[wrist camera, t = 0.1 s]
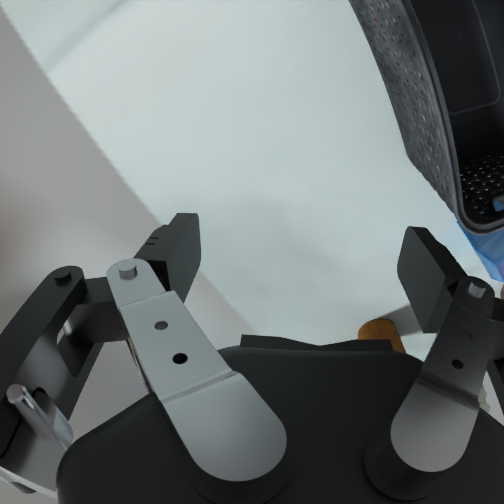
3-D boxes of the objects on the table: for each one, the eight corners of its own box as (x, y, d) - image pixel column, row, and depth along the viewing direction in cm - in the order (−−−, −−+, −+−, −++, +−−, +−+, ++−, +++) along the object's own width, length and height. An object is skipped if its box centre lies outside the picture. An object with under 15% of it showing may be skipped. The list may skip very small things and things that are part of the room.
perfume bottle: (456, 221, 35) (497, 285, 26) (490, 193, 32) (539, 251, 23) (473, 248, 37) (509, 311, 28) (504, 222, 34) (547, 281, 25)
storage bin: (309, -66, 18) (324, -122, 8) (466, -83, 12) (535, -107, 1) (410, 176, 33) (458, 248, 22) (533, 138, 26) (600, 189, 16)
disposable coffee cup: (388, 350, 52) (399, 410, 42) (339, 345, 51) (344, 408, 42) (414, 315, 46) (432, 379, 36) (362, 307, 46) (373, 377, 36)
